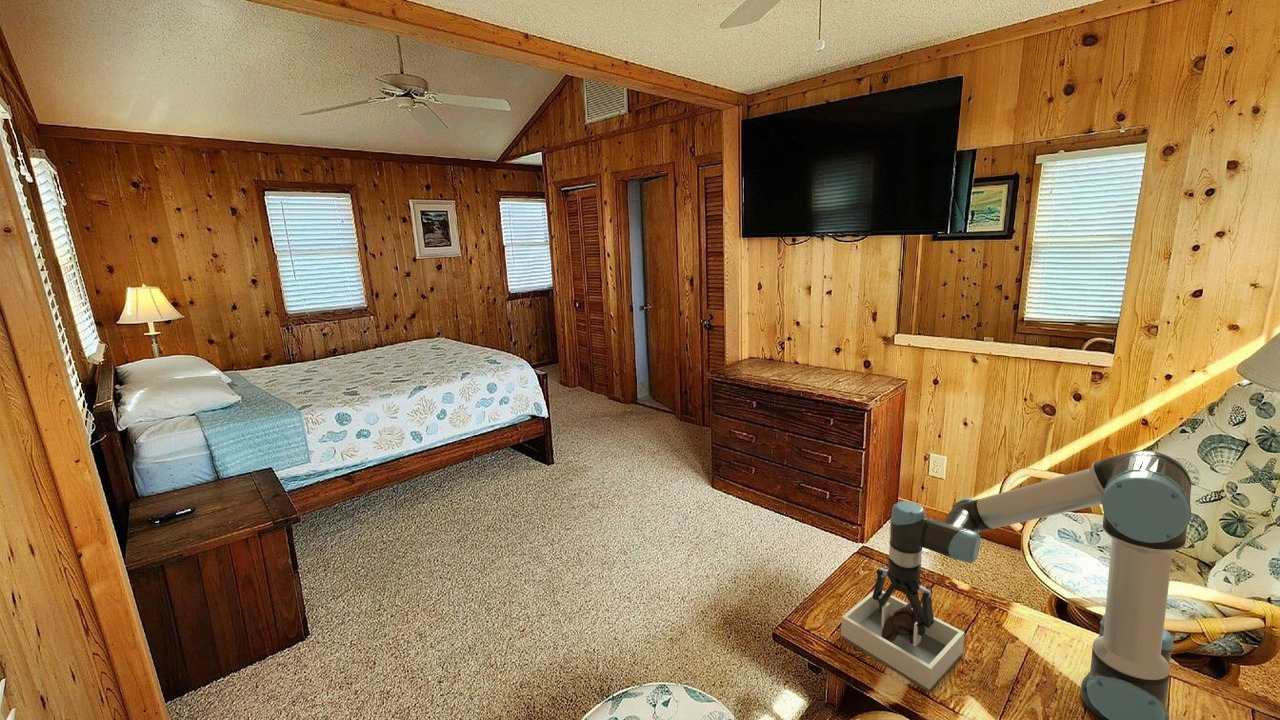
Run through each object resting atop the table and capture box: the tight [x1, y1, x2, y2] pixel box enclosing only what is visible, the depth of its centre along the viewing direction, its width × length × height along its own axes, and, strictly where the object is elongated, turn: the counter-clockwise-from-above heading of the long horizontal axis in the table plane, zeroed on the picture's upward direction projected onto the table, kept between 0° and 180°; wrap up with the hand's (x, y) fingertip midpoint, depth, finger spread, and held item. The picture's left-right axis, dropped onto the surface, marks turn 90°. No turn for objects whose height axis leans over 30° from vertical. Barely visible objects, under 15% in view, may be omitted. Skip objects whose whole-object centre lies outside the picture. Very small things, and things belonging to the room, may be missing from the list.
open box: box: [840, 589, 966, 694], centre depth 145 cm, size 24×18×7 cm
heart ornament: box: [882, 601, 917, 643], centre depth 146 cm, size 6×12×11 cm
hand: (900, 633), depth 145 cm, fingers closed on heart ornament, 8 cm apart
